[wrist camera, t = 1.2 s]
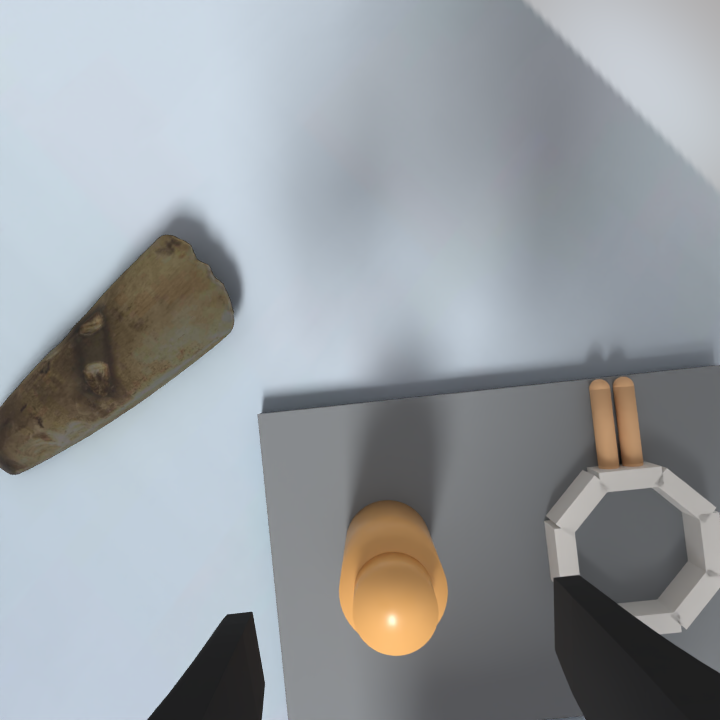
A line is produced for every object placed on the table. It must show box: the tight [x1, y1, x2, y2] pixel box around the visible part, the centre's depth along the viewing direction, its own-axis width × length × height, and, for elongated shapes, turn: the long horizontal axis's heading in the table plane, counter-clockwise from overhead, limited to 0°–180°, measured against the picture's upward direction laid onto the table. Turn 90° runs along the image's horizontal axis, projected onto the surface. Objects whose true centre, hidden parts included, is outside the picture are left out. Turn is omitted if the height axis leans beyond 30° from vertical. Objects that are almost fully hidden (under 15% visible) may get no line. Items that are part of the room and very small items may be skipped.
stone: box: [0, 235, 234, 475], centre depth 23 cm, size 13×5×2 cm, turn 133°
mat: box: [258, 365, 720, 720], centre depth 22 cm, size 14×20×2 cm
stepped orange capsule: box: [339, 500, 448, 656], centre depth 19 cm, size 4×4×6 cm
